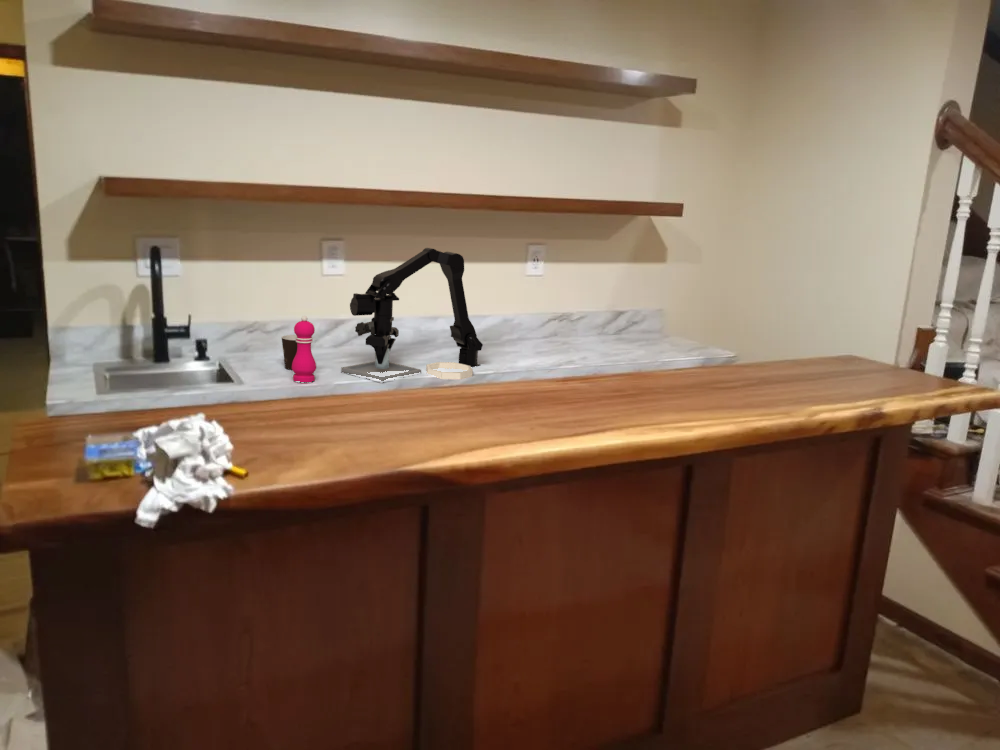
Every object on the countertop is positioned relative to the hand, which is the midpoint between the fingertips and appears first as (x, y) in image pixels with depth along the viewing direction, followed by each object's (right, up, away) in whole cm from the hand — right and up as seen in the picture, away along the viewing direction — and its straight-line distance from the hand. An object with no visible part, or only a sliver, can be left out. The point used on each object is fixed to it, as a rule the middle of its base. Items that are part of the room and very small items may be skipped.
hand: (381, 362), depth 254 cm
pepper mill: (-21, -6, -14) cm, 27 cm away
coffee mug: (-28, -2, +2) cm, 28 cm away
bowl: (+21, -4, +5) cm, 22 cm away
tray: (0, -4, +1) cm, 4 cm away
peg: (0, -2, 0) cm, 2 cm away
